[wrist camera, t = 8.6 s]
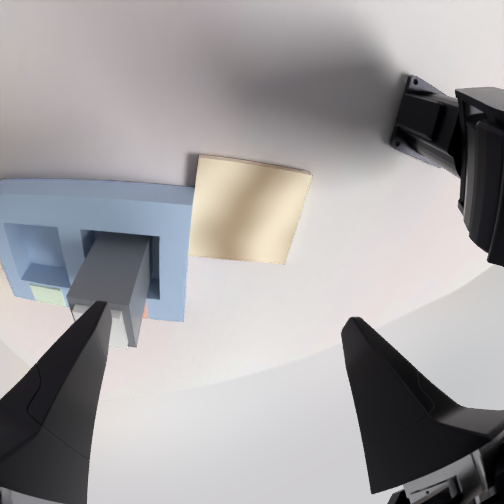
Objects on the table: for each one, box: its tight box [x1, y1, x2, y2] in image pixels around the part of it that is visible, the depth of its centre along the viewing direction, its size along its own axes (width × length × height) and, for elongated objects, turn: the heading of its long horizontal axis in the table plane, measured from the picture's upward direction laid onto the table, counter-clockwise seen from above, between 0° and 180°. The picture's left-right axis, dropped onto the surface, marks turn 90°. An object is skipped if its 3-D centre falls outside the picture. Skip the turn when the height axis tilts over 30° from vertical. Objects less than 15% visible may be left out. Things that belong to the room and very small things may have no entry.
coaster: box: [188, 155, 313, 264], centre depth 21 cm, size 8×8×1 cm
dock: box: [0, 179, 195, 322], centre depth 19 cm, size 18×11×3 cm, turn 79°
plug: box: [66, 231, 153, 350], centre depth 17 cm, size 4×4×9 cm
